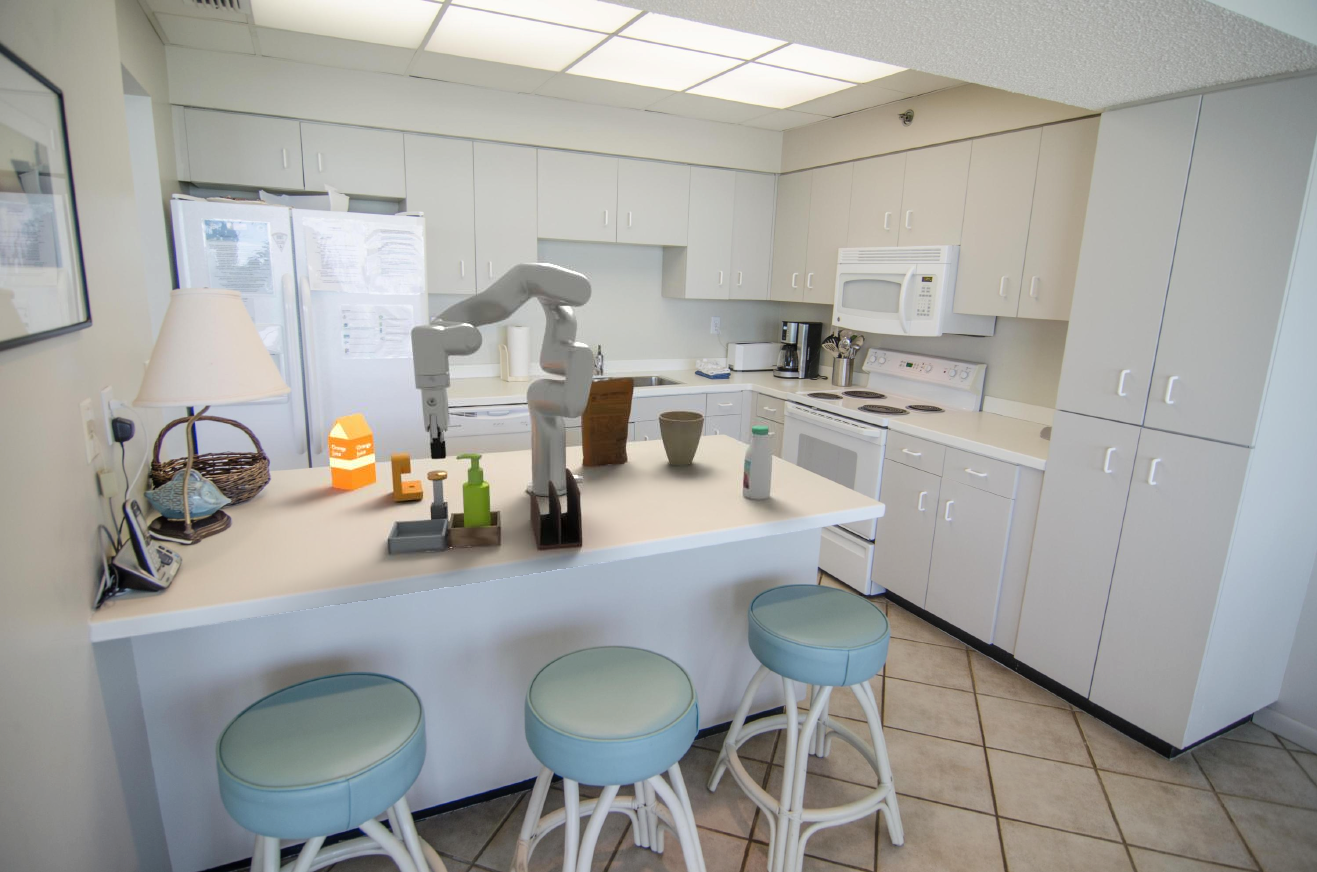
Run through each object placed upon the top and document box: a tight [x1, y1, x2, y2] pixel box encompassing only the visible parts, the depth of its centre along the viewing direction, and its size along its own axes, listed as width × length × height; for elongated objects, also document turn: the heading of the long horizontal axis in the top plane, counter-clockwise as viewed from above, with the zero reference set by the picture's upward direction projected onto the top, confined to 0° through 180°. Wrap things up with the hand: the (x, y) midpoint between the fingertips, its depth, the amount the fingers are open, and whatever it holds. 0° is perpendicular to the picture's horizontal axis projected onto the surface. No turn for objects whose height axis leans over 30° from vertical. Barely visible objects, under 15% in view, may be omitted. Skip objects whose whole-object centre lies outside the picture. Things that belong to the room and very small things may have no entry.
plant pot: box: [658, 410, 705, 467], centre depth 220 cm, size 15×15×16 cm
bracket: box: [390, 453, 424, 502], centre depth 181 cm, size 11×7×12 cm, turn 22°
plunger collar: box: [429, 501, 450, 527], centre depth 160 cm, size 5×5×6 cm
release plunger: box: [426, 470, 448, 507], centre depth 159 cm, size 4×4×13 cm
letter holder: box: [529, 467, 583, 551], centre depth 159 cm, size 10×20×14 cm, turn 16°
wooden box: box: [447, 510, 502, 549], centre depth 155 cm, size 11×10×4 cm
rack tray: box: [387, 518, 449, 555], centre depth 152 cm, size 12×11×4 cm
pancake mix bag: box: [580, 377, 635, 468], centre depth 215 cm, size 7×19×28 cm, turn 120°
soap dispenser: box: [455, 453, 491, 528], centre depth 153 cm, size 6×7×20 cm
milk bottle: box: [742, 425, 773, 501], centre depth 188 cm, size 8×8×20 cm
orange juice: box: [327, 412, 377, 491], centre depth 189 cm, size 8×9×20 cm
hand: (438, 457), depth 157 cm, fingers closed
